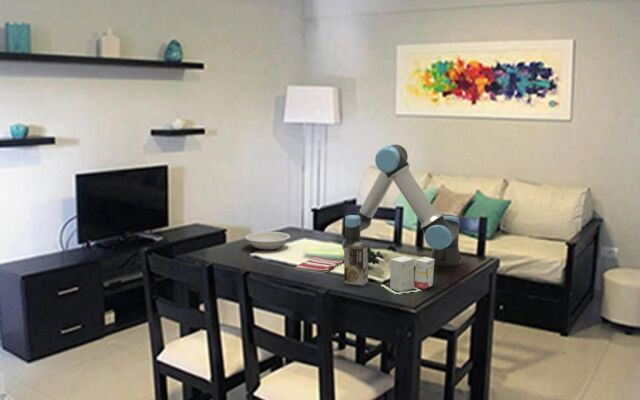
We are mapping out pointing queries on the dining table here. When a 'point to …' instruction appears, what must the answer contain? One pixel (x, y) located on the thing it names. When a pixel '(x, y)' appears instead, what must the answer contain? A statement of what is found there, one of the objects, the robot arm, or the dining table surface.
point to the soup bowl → (267, 239)
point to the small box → (402, 273)
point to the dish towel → (318, 265)
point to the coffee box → (356, 264)
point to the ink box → (424, 272)
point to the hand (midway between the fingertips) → (383, 263)
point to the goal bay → (400, 292)
